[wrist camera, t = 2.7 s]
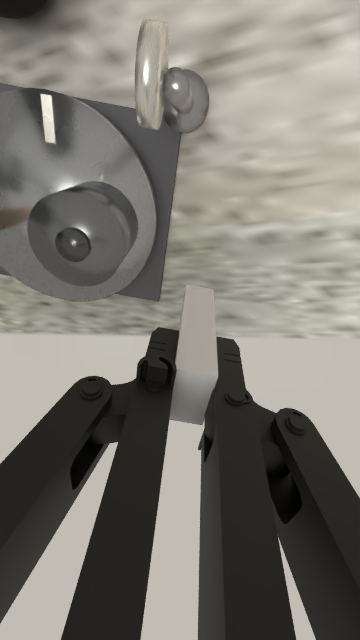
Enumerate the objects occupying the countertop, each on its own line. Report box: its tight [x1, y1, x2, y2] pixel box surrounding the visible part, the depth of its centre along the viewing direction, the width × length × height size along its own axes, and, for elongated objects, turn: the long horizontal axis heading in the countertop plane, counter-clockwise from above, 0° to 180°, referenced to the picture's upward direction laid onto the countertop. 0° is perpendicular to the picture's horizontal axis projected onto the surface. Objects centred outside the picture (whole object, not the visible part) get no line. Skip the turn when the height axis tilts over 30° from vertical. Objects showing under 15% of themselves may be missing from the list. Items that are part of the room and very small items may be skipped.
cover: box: [27, 181, 138, 286], centre depth 22 cm, size 7×7×7 cm
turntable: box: [0, 88, 157, 301], centre depth 24 cm, size 18×18×6 cm
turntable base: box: [0, 83, 181, 301], centre depth 27 cm, size 20×18×2 cm
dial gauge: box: [135, 18, 209, 133], centre depth 18 cm, size 4×4×12 cm
